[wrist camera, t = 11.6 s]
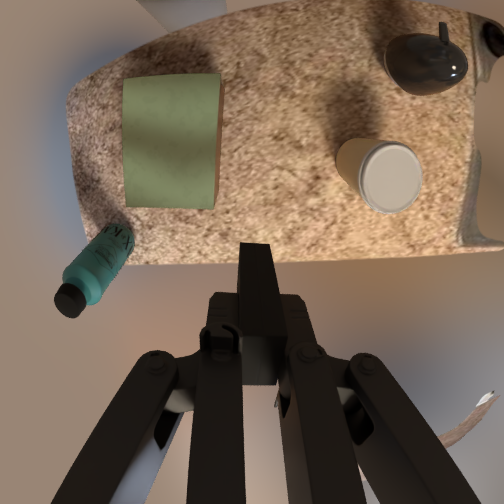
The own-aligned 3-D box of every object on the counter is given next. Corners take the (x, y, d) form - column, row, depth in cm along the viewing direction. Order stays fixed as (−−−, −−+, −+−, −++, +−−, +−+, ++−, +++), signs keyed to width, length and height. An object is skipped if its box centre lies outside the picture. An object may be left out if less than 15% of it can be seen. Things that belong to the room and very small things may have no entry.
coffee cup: (377, 193, 42) (414, 220, 32) (326, 185, 42) (354, 211, 31) (387, 139, 38) (430, 151, 27) (334, 127, 37) (368, 134, 27)
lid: (125, 79, 26) (123, 78, 25) (221, 74, 26) (220, 73, 26) (128, 205, 34) (126, 207, 33) (214, 207, 35) (213, 209, 34)
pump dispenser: (414, 37, 29) (471, 23, 15) (431, 92, 33) (493, 97, 20) (365, 40, 30) (418, 17, 17) (385, 99, 35) (445, 101, 21)
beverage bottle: (130, 258, 46) (83, 337, 29) (100, 240, 44) (42, 309, 27) (145, 230, 44) (94, 305, 26) (113, 210, 42) (48, 274, 24)
